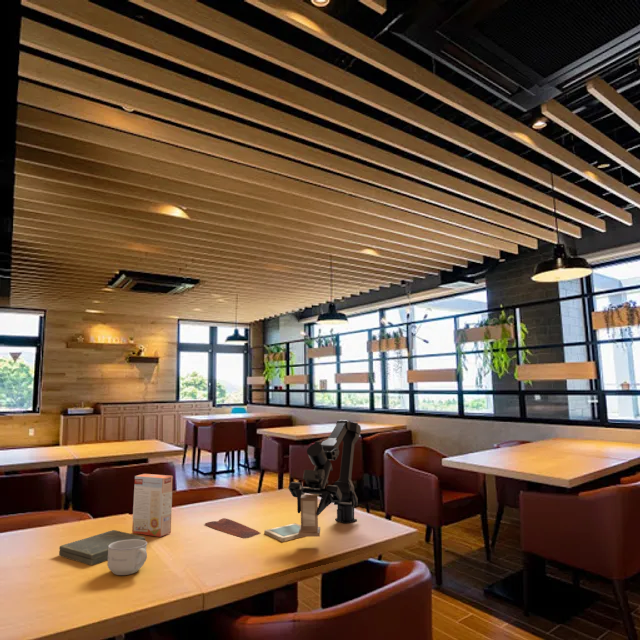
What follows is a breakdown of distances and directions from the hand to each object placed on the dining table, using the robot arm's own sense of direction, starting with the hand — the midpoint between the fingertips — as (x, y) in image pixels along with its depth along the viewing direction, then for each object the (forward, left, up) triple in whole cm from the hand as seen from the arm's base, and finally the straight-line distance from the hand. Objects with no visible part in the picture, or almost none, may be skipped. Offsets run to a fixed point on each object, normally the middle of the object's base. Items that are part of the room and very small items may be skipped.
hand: (307, 513), depth 157 cm
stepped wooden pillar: (-1, -1, -7) cm, 7 cm away
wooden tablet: (+9, -36, -12) cm, 39 cm away
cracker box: (+35, -51, -11) cm, 63 cm away
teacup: (+53, -17, -11) cm, 57 cm away
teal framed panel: (-4, -17, -11) cm, 21 cm away
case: (+54, -42, -12) cm, 69 cm away
